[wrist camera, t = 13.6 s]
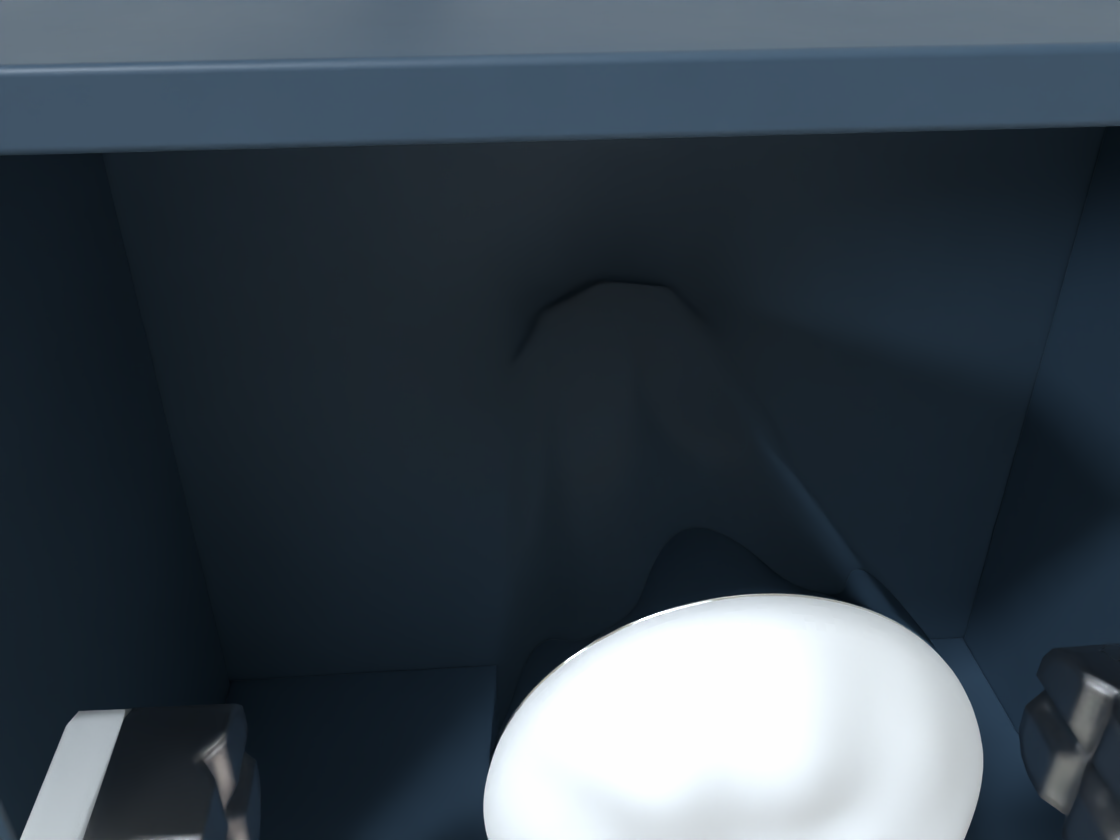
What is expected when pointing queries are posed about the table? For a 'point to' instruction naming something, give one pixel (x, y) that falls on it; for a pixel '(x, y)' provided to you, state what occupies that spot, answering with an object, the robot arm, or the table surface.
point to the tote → (501, 332)
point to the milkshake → (697, 612)
